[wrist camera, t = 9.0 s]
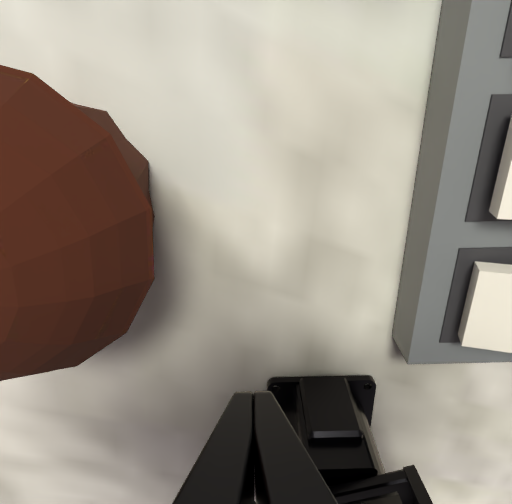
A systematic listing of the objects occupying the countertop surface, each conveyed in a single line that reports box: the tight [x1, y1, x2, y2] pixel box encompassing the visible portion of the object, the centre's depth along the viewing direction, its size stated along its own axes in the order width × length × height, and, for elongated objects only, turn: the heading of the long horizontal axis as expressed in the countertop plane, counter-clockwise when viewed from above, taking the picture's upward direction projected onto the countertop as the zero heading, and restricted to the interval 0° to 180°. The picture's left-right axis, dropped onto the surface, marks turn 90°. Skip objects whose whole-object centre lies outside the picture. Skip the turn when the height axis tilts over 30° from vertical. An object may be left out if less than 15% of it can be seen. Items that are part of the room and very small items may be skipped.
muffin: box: [0, 65, 154, 381], centre depth 15 cm, size 12×11×10 cm
